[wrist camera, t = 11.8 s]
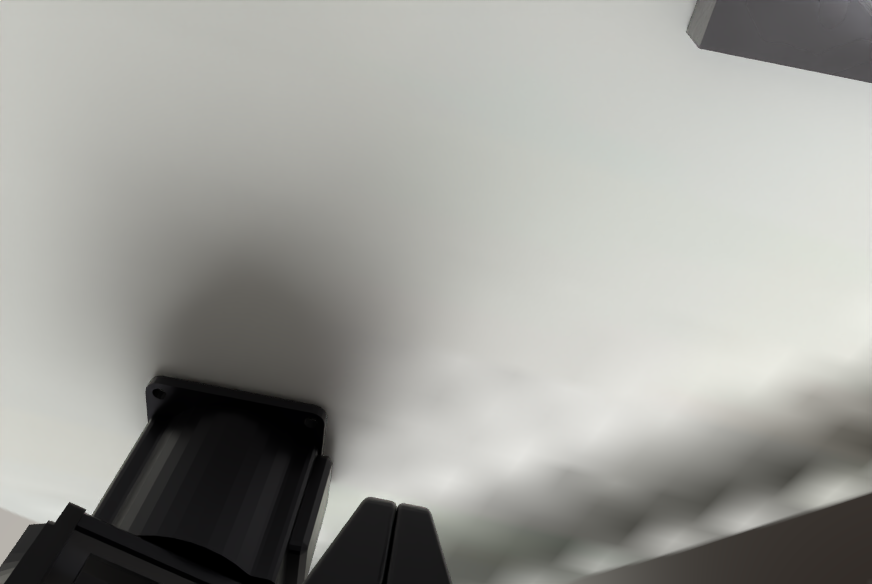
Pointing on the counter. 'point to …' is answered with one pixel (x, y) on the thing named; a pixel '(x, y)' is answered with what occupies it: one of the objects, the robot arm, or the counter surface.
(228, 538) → the robot arm
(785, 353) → the counter surface
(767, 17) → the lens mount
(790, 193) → the counter surface
